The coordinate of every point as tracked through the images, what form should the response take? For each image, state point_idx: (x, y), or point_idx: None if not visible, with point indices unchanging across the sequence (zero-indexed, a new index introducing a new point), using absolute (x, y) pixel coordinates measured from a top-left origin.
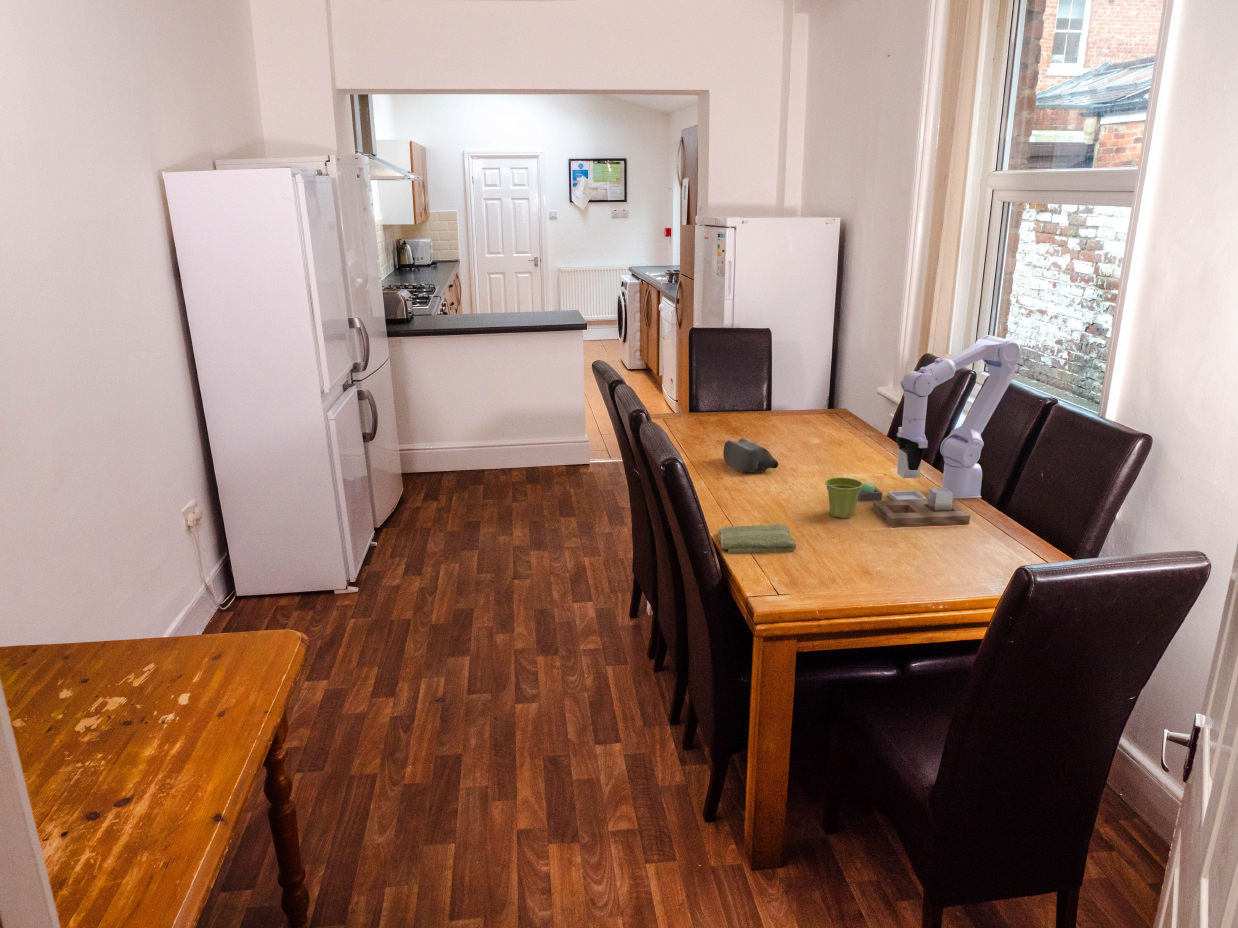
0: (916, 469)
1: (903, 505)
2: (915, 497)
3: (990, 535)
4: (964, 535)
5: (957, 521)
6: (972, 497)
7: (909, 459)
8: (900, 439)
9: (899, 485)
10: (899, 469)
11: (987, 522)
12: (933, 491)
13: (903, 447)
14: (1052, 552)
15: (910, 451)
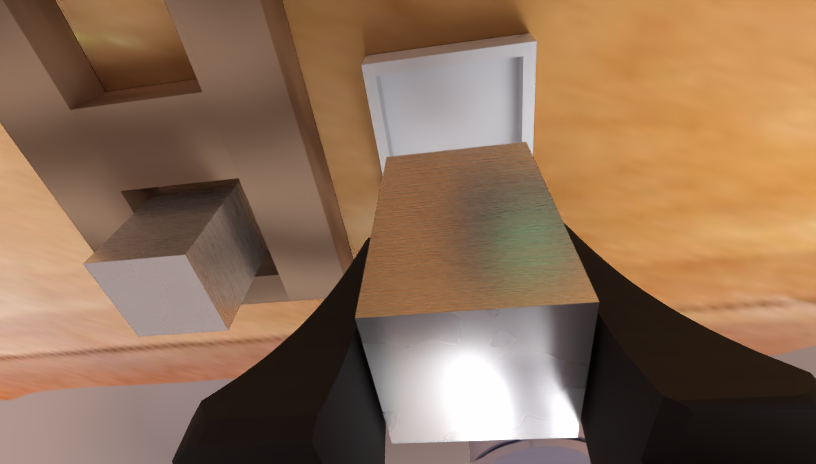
0: None
1: (191, 60)
2: None
3: (68, 309)
4: (16, 237)
5: None
6: None
7: (339, 296)
8: (709, 445)
9: (717, 161)
10: (487, 168)
11: (206, 337)
12: (124, 260)
13: (602, 358)
14: (6, 392)
15: (233, 383)
